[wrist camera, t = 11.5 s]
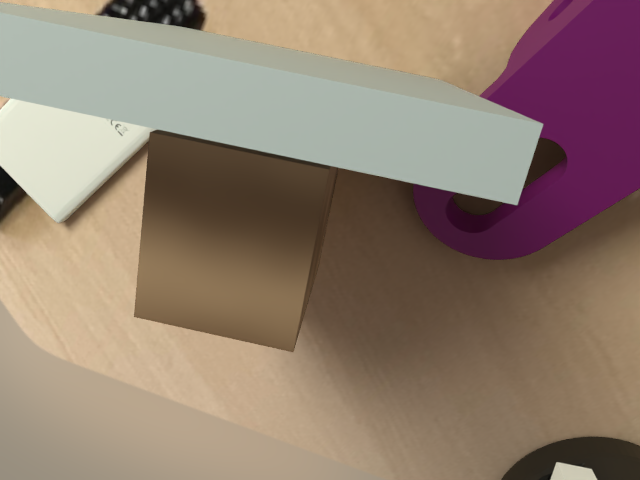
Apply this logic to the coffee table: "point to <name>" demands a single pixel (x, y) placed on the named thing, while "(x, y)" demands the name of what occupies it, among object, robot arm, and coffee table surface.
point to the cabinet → (230, 238)
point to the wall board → (267, 99)
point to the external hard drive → (63, 153)
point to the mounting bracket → (560, 129)
